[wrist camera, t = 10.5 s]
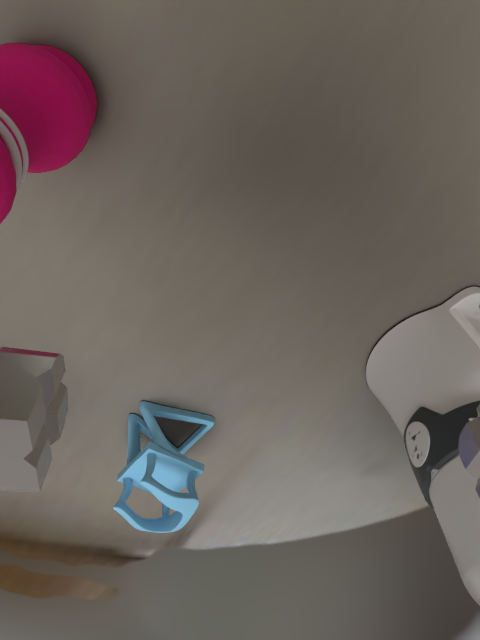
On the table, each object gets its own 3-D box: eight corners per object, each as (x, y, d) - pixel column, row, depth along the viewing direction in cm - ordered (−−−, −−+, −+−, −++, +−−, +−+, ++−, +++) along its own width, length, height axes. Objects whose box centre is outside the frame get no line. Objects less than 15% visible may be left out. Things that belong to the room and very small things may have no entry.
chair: (152, 387, 49) (134, 486, 39) (215, 417, 52) (213, 516, 43) (118, 426, 53) (94, 526, 43) (179, 452, 56) (169, 551, 46)
